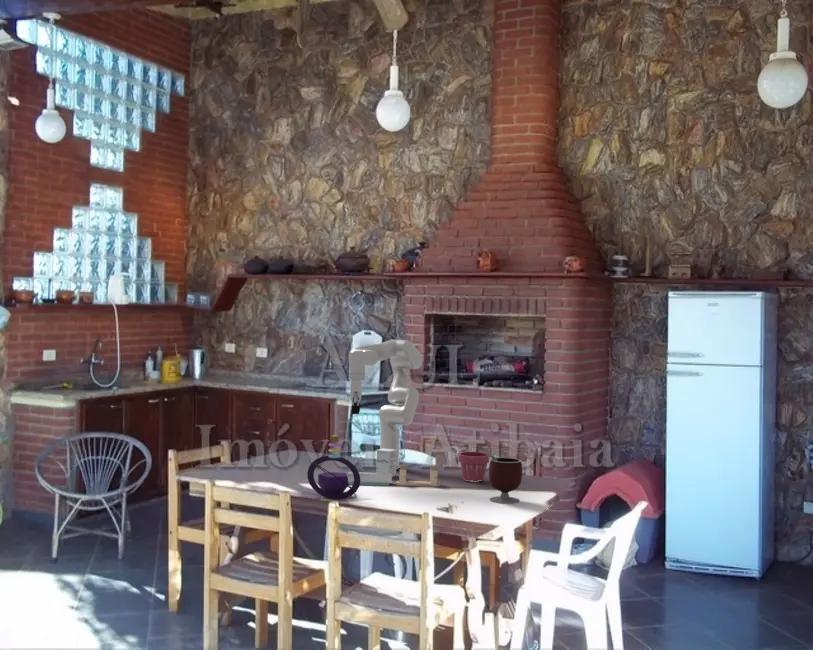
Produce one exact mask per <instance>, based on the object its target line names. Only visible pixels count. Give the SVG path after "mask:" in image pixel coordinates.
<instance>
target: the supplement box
mask: <svg viewBox="0 0 813 650" xmlns="http://www.w3.org/2000/svg"><path fill="white" fill-rule="evenodd" d="M396 457H397V450H394V449H385V448H383V449H380V448H379V449H377V450H376V465H375V473H392V478H393V477H395V476H397V474H396V473H397V469H396Z"/></svg>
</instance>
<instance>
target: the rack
mask: <svg viewBox="0 0 813 650" xmlns="http://www.w3.org/2000/svg"><path fill="white" fill-rule="evenodd" d="M399 465H400V469H399V478H398V479H399V480H396V481H395V485H396V486H413V487H414V486H415V487H417V486H418V487H419V486H420V487H421V486H422V487H424V486H426V487H441V482H440V481H438V466H437V465H435V466H434V465H432V466H431V465H430V467H429V468H430V469H429V470H430V473H429V481H419V480H418V481H416V480H415V481H412V480H407V465H403V464H402V465H401V464H399Z"/></svg>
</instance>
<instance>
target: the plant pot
mask: <svg viewBox="0 0 813 650" xmlns="http://www.w3.org/2000/svg"><path fill="white" fill-rule="evenodd" d="M486 453H487V452H481V451H461V452H459V453H458V463H460V467H461V473H462V479H463V480H464V479H465V480H473V481H478V480H483V481H484V478H485V475H486V472H487V471H486V470H487V466H488V463H489V464H490V456H489V455H486Z"/></svg>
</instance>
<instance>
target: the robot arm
mask: <svg viewBox="0 0 813 650" xmlns="http://www.w3.org/2000/svg"><path fill="white" fill-rule="evenodd" d="M388 359H389V362H390V366H391V368H392V373H393V377H392V378H393V379H392V382H391V385H390V388H389V391H388V394H387V401H388V403H390V404H385V405H383V406H382V405H381V407H380V409H379V411H378V416H379V417H378V418H379V424H380V425H379V427H380V435H379V436H380V438H379V439H380V440H379V443H380V445H379V449H383V448H385V449H394V450H397V457H396V470H400V469H399V468H400V465H401V464H400V463H399V462H400V458H399V457H400V430H399V428H398V425H399V426H409V425H410V424H411V423H412V422H413V420H414V417H415V413H416V410H417V406H418V403H419V399H420V396H419V395H420V394H419V391H418V389H417V388H415V387H413V386H409V384H410V382H411V381H410V380H411V379H410V376H409V374H408V372H407V369H408V370H409V369H411V370H416V369H417V370H418V369H419V368H421V366H422V364H423V357H422V354H421V353H420V351H419V350H418V349H417V347H416V346H415V345H414V344H413V343H412V342H411V341H410V340H408V339H389V340H387V341H383V342H380V343H376V344H375V343H374V344H369V345H364V346H358V347H355V348H353V349H352V350H350V351H349V354H348V363H349V364H348V366H349V367H348V380H350V394H349V401H350V402H351V401H352V406H351V414H352V415H359V414H360V412H361V403H360V401H361V400H362V394H363V381H365V380H366V366H374V365H377V363H378V362H381V361H385V360H388Z"/></svg>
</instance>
